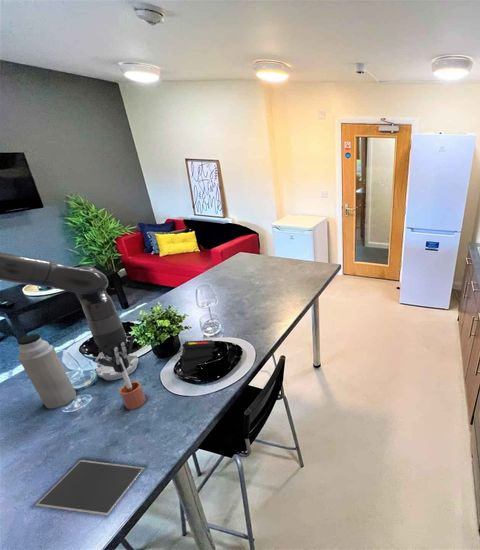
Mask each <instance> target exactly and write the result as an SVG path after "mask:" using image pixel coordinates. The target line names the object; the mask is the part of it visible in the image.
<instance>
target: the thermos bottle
mask: <svg viewBox="0 0 480 550" xmlns="http://www.w3.org/2000/svg"><path fill="white" fill-rule="evenodd" d="M17 344H18V345H19V347H20V348H18V349H17V350H18V351H17V352H18V356H17V358H18V359H17V360H18V361H19V363H20V364H21V366H22V368H23V369H24V371H25V373H26V374H27V376H28V378H29V380H30V382H31V383H32V385H33V387H34V389H35V391H36V392H37V394H38V395H39V397H40V399H41V401H42V403H43V405H44V406H45V408H46V409H51V410H52V409H57V408H61V407H62V406H65V405H67V404H68V403H71V401H73V400H74V399H75V398H76V396H77V392H76V389H75V388H74V385H73V384H72V382H71V380H70V378H69V375H68V374H67V372H66V370H65V368H64V366H63V363H62V362H61V360H60V358H59V355H58V354H57V352H56V350H55V347H54V346H53V345H52V344H50V343H49V342H48V341H47V340H43V339H42V337H41V335H40V334H39V333H32V334H28V335H26V336H23V337H21V338H19V339H18V340H17Z"/></svg>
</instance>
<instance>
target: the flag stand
mask: <svg viewBox="0 0 480 550" xmlns="http://www.w3.org/2000/svg"><path fill="white" fill-rule="evenodd" d="M127 359H128V362H129V367H128V368H127V369H126V371H127V374H128V376H129V375H131V374H132V373H133V372H134V371H135V370H136V369H137V366H138V363H139V357H138V355H137V353H136V352H133V353H131V354H128V357H127ZM107 360H108V361H109V359H107ZM96 366H97V368H95V372H96V374H97V376H98V377H100V378H103V380H105V381H116V380H120V379H122V378H123V376H122V374H121V373H119V372H115V370H114V368H113V367H110V366H104V365H101V364H99V363H97V365H96Z"/></svg>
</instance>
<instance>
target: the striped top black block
mask: <svg viewBox="0 0 480 550" xmlns="http://www.w3.org/2000/svg"><path fill="white" fill-rule="evenodd" d="M215 343H216V342H214V341H213V339H208V340H207V339H206V340H205V339H204V340H186V341H185V340H184V343H182V347H183V348H182V351H181V355H180V356H179V358H180V360H181V367H180V371H181V372H182V374H183V376H184V378H188V377H191V376H192V375H194V374H196V373H198V372H199V371H194V370H195V369H196V366H197V365H198V364H200V363H203V362H206V361H208V360H210V359H212V360H213V357H214V354H213V351H214V349H215V348H216V345H215ZM192 371H193V372H192ZM185 374H187V375H185Z"/></svg>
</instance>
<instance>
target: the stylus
mask: <svg viewBox="0 0 480 550" xmlns="http://www.w3.org/2000/svg"><path fill="white" fill-rule="evenodd" d="M119 360H120V363H121V364H122V366H123V369H124V371H123V372H122V373H121V374H122V376H123V379H122V380H123V381H124V385H126V387H127V389H129V390H132V385H131V382H132V381H131V379H130V377H129V375H128V374H127V371H126V369H125V366H124V363H123V361H122V358H121V357H119Z"/></svg>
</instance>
